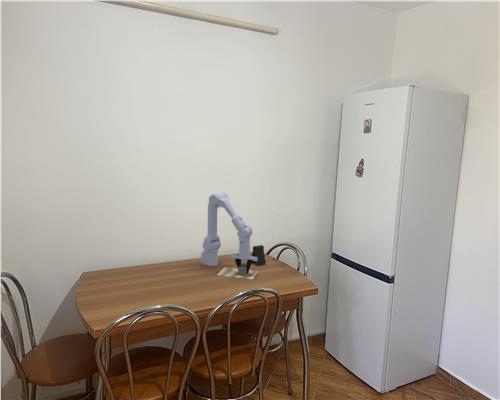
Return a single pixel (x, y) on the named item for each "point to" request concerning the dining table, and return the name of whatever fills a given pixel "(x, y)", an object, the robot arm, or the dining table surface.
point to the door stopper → (259, 255)
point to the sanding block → (242, 269)
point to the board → (236, 273)
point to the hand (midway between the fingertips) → (243, 272)
